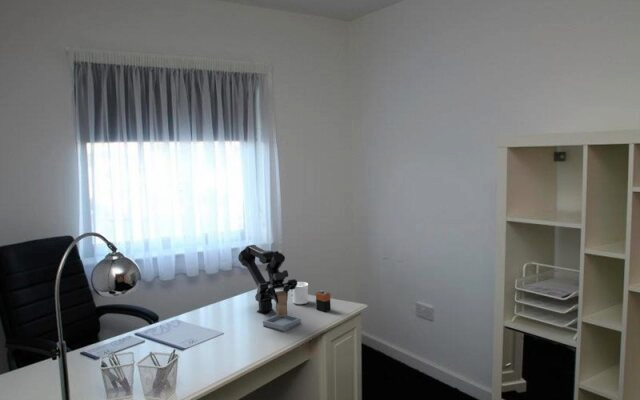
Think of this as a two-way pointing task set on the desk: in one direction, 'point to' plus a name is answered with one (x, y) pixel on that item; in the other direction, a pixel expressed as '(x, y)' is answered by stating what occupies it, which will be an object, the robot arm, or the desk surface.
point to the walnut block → (281, 303)
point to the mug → (300, 293)
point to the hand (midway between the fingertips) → (282, 302)
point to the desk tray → (282, 322)
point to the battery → (323, 301)
